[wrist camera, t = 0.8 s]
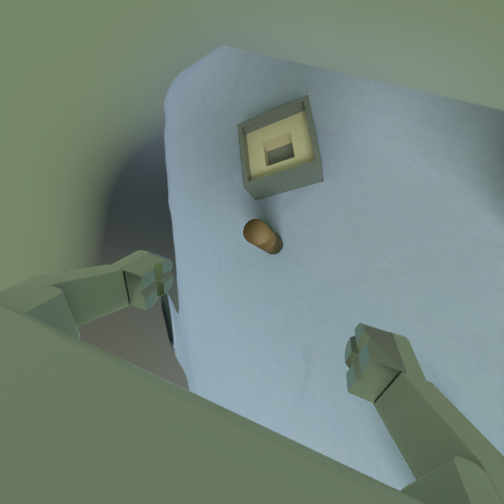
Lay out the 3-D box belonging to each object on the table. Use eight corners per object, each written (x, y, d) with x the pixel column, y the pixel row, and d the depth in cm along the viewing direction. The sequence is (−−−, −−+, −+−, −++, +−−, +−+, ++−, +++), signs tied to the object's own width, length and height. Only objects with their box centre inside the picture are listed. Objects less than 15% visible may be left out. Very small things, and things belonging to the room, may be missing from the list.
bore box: (311, 120, 48) (307, 94, 42) (323, 181, 45) (321, 162, 38) (248, 144, 54) (237, 124, 47) (255, 199, 50) (243, 186, 44)
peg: (281, 233, 46) (265, 216, 35) (284, 252, 45) (268, 240, 34) (263, 237, 48) (242, 221, 37) (265, 255, 47) (244, 245, 36)
